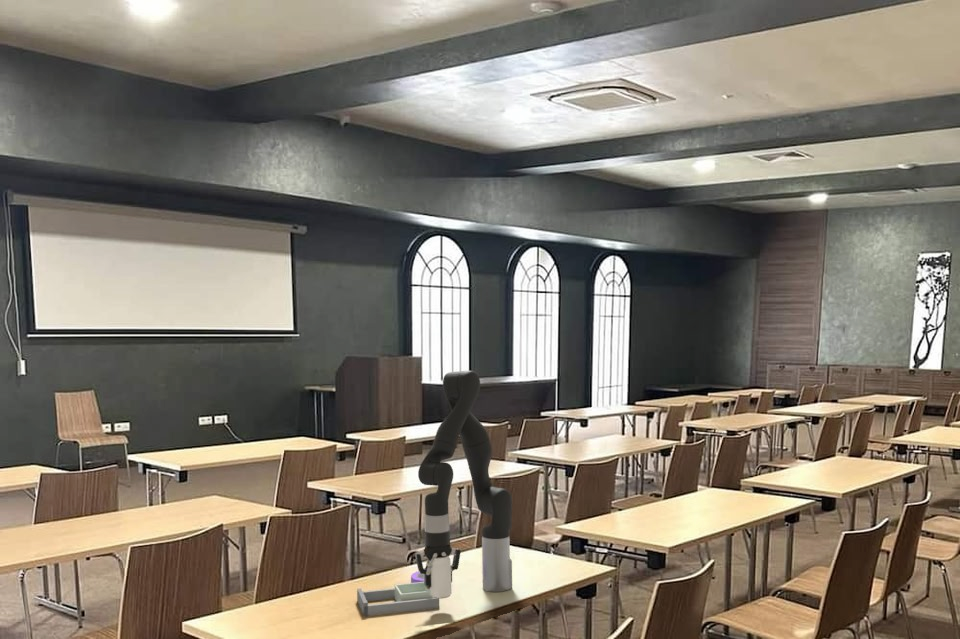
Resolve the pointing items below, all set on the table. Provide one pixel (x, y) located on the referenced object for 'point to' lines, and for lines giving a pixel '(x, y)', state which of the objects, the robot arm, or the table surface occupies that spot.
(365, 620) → the table surface
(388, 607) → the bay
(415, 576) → the masking tape
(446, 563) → the can
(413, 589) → the sliding tray
